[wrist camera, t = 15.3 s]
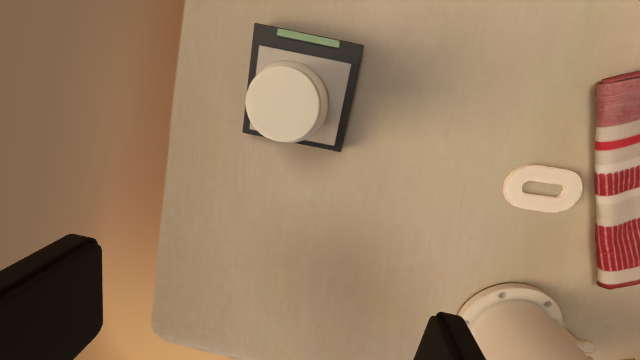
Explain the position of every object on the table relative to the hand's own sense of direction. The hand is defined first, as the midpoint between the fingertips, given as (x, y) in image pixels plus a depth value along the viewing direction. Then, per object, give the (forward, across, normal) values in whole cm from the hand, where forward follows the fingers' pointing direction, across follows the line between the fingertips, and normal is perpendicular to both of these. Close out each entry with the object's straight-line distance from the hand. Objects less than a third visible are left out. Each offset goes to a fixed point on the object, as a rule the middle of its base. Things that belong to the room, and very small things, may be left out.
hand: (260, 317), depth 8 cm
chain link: (+25, -25, +2) cm, 35 cm away
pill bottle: (+22, +3, -5) cm, 23 cm away
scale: (+24, +3, -6) cm, 25 cm away
